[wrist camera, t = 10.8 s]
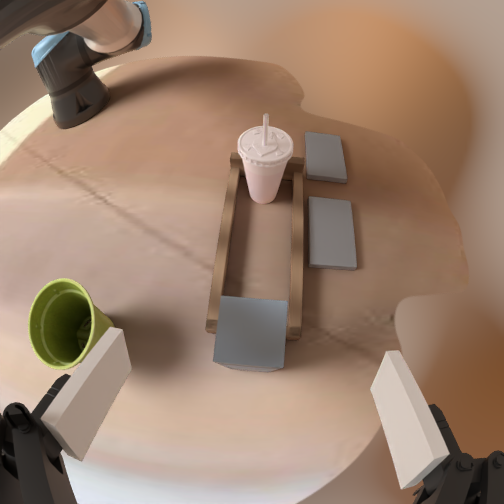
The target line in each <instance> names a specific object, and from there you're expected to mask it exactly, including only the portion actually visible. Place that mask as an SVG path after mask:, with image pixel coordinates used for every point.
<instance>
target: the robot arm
mask: <svg viewBox="0 0 504 504" xmlns="http://www.w3.org/2000/svg"><path fill="white" fill-rule="evenodd" d="M26 33H30V34H36V35H40V36H46V37H45V38H44V39H43V40H41V41H40V42H39V43H38V44H37V45H36V46H35V47H34V49H33V51H32V57H33V61H34V64H35V67H36V69H37V71H38V73H39V75H40V77H41V79H42V81H43V83H44V85H45V87H46V89H47V91H48V94H49V96H50V98H51V103H52V109H53V113H54V114H53V119H54V121H55V123H56V125H57V126H58V127H59V128H62V129H65V128H70V127H73V126H76V125H78V124H80V123H82V122H84V121H86V120H88V119H89V118H91V117H92V116H94V115H95V114H96V113H97V112H99V111H100V110H101V109H102V108H103V107H104V106H105V105H106V103H107V102H108V100H109V98H110V94H109V91H108V88H107V86H106V85H105V84H103V83H102V82H101V80H100V79H99V78H98V77H97V76H96V74H95V73H94V71H93V69H92V65H95V64H97V63H100V62H102V61H105V60H107V59H110V58H113V57H116V56H118V55H121V54H124V53H127V52H130V51H133V50H139V49H140V48H142V47H145V46H147V45H148V44H150V42H151V38H152V35H151V22H150V16H149V11H148V7H147V5H146V3H145V2H144V1H139V2H133V3H131V2H128V1H125V0H0V50H1V49H2V48H4V47H5V46H7V45H8V44H10V43H11V42H12V41H14V40H15V39H17V38H18V37H20V36H22V35H24V34H26ZM131 370H132V367H131V363H130V359H129V355H128V351H127V347H126V342H125V338H124V333H123V329H119V328H114V327H109V329H108V330H107V331H106V332H105V334H104V335H103V336H102V337H101V338H100V340H99V341H98V342H97V343H96V345H95V346H94V347H93V348H92V350H91V351H90V352H89V354H88V355H87V356H86V357H85V359H84V360H83V361H82V362H81V364H80V365H79V366H78V368H77V369H76V370H75V372H74V373H73V374H72V376H70V375H68V374H64V375H63V376H61V377H60V378H58V379H57V380H56V381H55V382H54V384H53V385H52V386H51V388H50V389H49V390H48V392H47V394H45V396H44V397H43V398H42V400H41V401H40V402H39V404H38V405H37V406H36V408H35V409H34V410H33V412H32V413H31V414H30V412H29V411H28V409H27V408H26V407H25V405H24V404H21V403H17V402H15V403H12V404H9V405H8V406H7V407H6V408H5V410H4V412H3V416H2V415H1V413H0V504H77V501H76V499H75V496H74V493H73V490H72V488H71V485H70V481H69V478H68V475H67V472H66V468H65V465H64V461H63V458H62V455H61V453H60V452H61V451H62V449H63V450H64V451H65V452H66V453H67V455H69V456H71V457H73V458H75V459H77V460H79V461H81V462H82V460H83V458H84V456H85V454H86V452H87V450H88V449H89V447H90V445H91V443H92V441H93V439H94V437H95V435H96V433H97V431H98V429H99V427H100V426H101V424H102V422H103V420H104V418H105V416H106V414H107V413H108V411H109V409H110V407H111V405H112V404H113V402H114V400H115V398H116V396H117V395H118V393H119V391H120V389H121V387H122V386H123V384H124V382H125V380H126V379H127V377H128V375H129V373H130V372H131ZM370 390H371V393H372V395H373V398H374V401H375V404H376V407H377V410H378V413H379V416H380V419H381V423H382V426H383V429H384V432H385V435H386V438H387V442H388V445H389V448H390V452H391V455H392V459H393V462H394V465H395V469H396V473H397V477H398V481H399V484H400V488H401V489H405V488H408V487H412V486H415V485H417V484H418V483H419V482H420V481H421V480H423V482H424V485H423V486H421V487H420V488H419V489H418V490H416V491H415V492H414V494H413V495H416V494H417V493H418V492H419V493H418V495H417V497H416V499H415V501H414V503H413V504H504V453H503V452H502V451H494V452H493V453H491V454H490V455H489V456H488V457H487V458H479V459H473V457H472V456H471V455H469V454H467V453H462V452H461V450H460V449H459V446H458V444H457V442H456V440H455V438H454V436H453V434H452V431H451V429H450V428H449V425H448V423H447V421H446V419H445V417H444V415H443V413H442V411H441V410H440V409H439V408H438V407H437V406H436V405H435V404H432V405H427V403H426V401H425V399H424V397H423V395H422V393H421V391H420V389H419V387H418V385H417V383H416V381H415V379H414V377H413V375H412V373H411V371H410V369H409V368H408V366H407V364H406V362H405V360H404V359H403V356H402V355H401V353H400V351H399V350H395V351H386V353H385V356H384V358H383V360H382V363H381V365H380V368H379V370H378V372H377V375H376V377H375V379H374V381H373V384H372V386H371V388H370ZM2 449H3V450H2ZM480 491H481V492H480Z"/></svg>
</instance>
